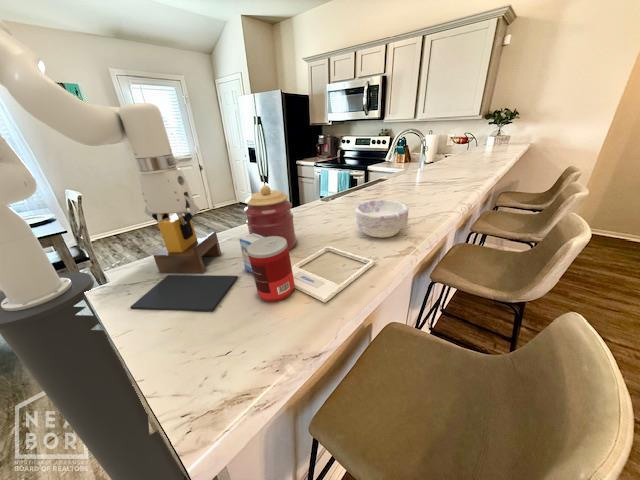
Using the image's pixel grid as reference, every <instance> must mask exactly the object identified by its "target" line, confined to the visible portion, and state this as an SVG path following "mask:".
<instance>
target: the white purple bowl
mask: <svg viewBox="0 0 640 480" xmlns="http://www.w3.org/2000/svg"><path fill="white" fill-rule="evenodd" d="M354 216H355V217H354V220H355V225H356V227H357V228H359V229H361V230H362V231H363V232H364V234H366V235H367V236H370V237H372V238H378V239H383V238H384V239H385V238H390V237H393V236H395V235H397V234H398V233H399V231H400V230H403V229H404V228H405V227H406V226H407V225H408V219H409V207H408V206H407V205H406V204H404V203H403V202H400V201H396V200H391V199H390V200H389V199H373V200H368V201H363V202H361V203H359V204H358V205H356V206H355V208H354Z"/></svg>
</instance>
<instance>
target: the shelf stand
mask: <svg viewBox="0 0 640 480" xmlns="http://www.w3.org/2000/svg"><path fill="white" fill-rule="evenodd" d="M221 255H222V250H221V246H220V243H219V238H218V235H217V231H215V230H214V231H212V232H210V233H209V234H208V235H207V236H206V237H201V238H200V237H198V238H197V241H196V242H195V243H194V244H192V245H191V246H190V247H188V248H187V249H186V250H185V251H183V252H168V251H167V248H166V246H164V247H163V248H162V249H160V250H159V251H157V252H156V253H154V254H153V255H152V256H153V259H154V261H155V263H156V267H157V269H158V270H157V271H158V273H163V274H165V273H167V274H169V273H170V274H203V273H205V272H206V268H205V264H204V261H203V257H220V256H221Z"/></svg>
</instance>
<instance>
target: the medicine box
mask: <svg viewBox="0 0 640 480" xmlns="http://www.w3.org/2000/svg"><path fill="white" fill-rule="evenodd" d="M261 238H264V237H263V236H261V235H258V234H255V233H252V234H249V233H248V234H247V235H244V236H242V237H240V238H239V239H238V240H239V245H240V250H241V255H242V259H243V265H244V269H245V271H247V272H248V273H251V274H253V272H252V268H251V264H250V260H249V256H248V251H247V248H248V246H249V245H250V244H251V243H253V242H254V241H256V240H258V239H261Z"/></svg>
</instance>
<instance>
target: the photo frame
mask: <svg viewBox="0 0 640 480" xmlns="http://www.w3.org/2000/svg"><path fill="white" fill-rule="evenodd" d="M328 251H329V252H332V253H334V254H337V255H340V256H342V257H343V256H344V257H347V258H350V259H353V260H355V261H358V262H362V263H365V264H364V265H363V266H362V267H361V268H359V269H358V270H357V271H356V272H354V273H353V274H351V275H350V276H349V277H347V278H346V279H345V280H344V281H342V282H341V283H339V284H338V283H336V282H334V281H331V280H328V279H327V278H324V277H322V276H319V275H317V274H314V273H313V272H310V271H307V270H305V269H302V268H301V267H303V266H305V265H306V264H307V263H309V262H310V261H313V260H314V259H316V258H317V257H319V256H321V255H322V254H324V253H326V252H328ZM374 265H375V260H373V259H371V258H367V257H363V256H361V255H358V254H354V253H351V252H348V251H344V250H342V249H338V248H335V247H332V246H330V245H326V246H325V247H323V248H321V249H319V250H318V251H316V252H314V253H311V255H308V256H307V257H305V258H304V259H302V260H300V261H299V262H296V263H295V264H293V265H291V267H292V273H293V279H294V289H297V290H298V291H300V292H301V293H302V292H303V293H304V294H307V295H309V296H310V297H312V298H314V299H317V301H318V300H319V301H321V302H323V303H324V304H326V303H327V302H328V301H329V300H331V299H332V298H333V297H335V296H336V295H337V294H339V293H340V292H341V291H342V290H343V289H345V288H346V287H347V286H349V285H350V284H351V283H352V282H354V281H355V280H356V279H357V278H359V277H360V276H361V275H363V273H365V272H366V271H367V270H369V269H370V268H371V267H373V266H374Z"/></svg>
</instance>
